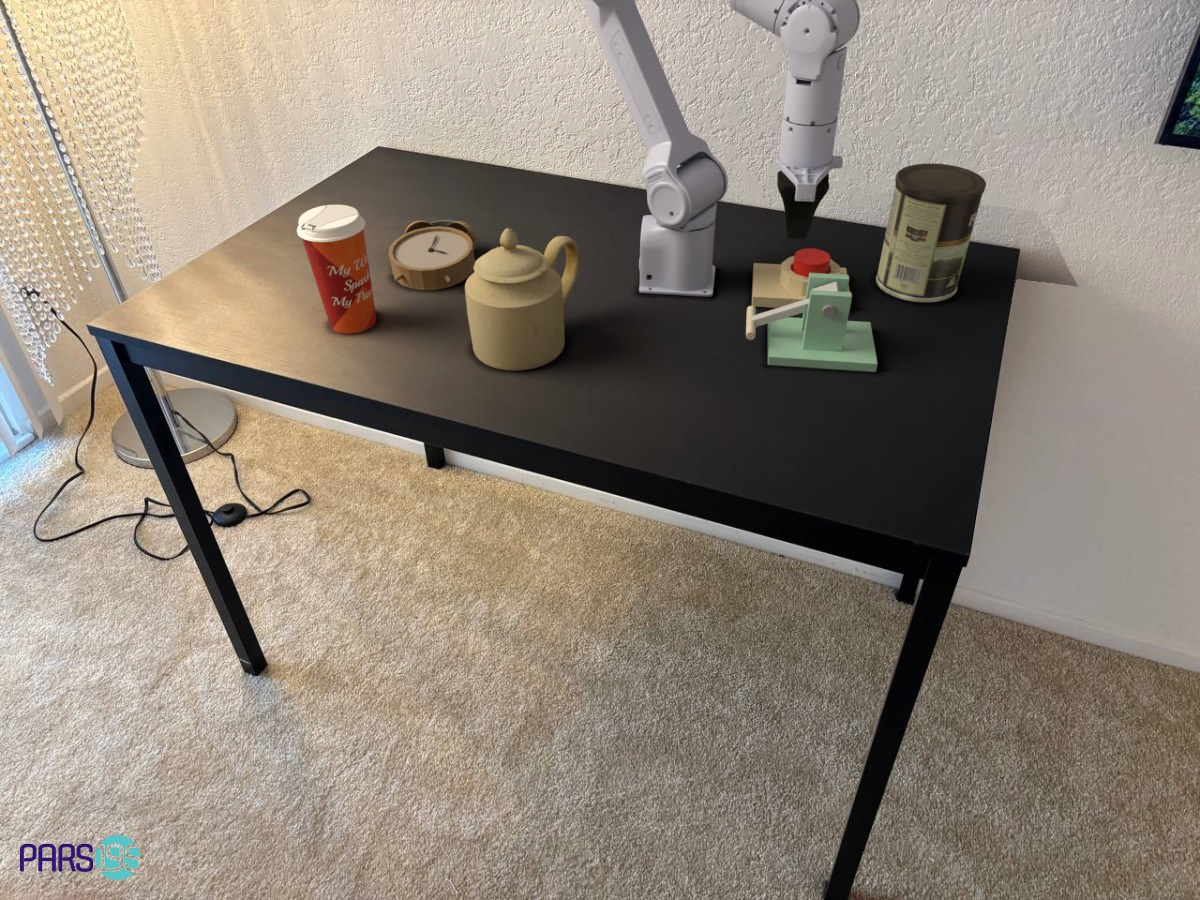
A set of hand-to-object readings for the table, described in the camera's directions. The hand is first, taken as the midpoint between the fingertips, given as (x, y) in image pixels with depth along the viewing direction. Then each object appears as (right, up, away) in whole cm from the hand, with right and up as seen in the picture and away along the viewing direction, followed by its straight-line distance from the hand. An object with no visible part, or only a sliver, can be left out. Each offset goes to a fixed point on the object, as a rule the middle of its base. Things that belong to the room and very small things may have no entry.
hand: (796, 236), depth 100 cm
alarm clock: (-45, +1, +19) cm, 49 cm away
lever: (0, -10, -1) cm, 10 cm away
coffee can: (+18, -3, +12) cm, 22 cm away
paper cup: (-54, -9, +7) cm, 55 cm away
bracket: (+3, -13, +1) cm, 13 cm away
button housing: (+3, -4, +11) cm, 12 cm away
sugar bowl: (-32, -11, +4) cm, 34 cm away
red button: (+4, -2, +9) cm, 10 cm away
